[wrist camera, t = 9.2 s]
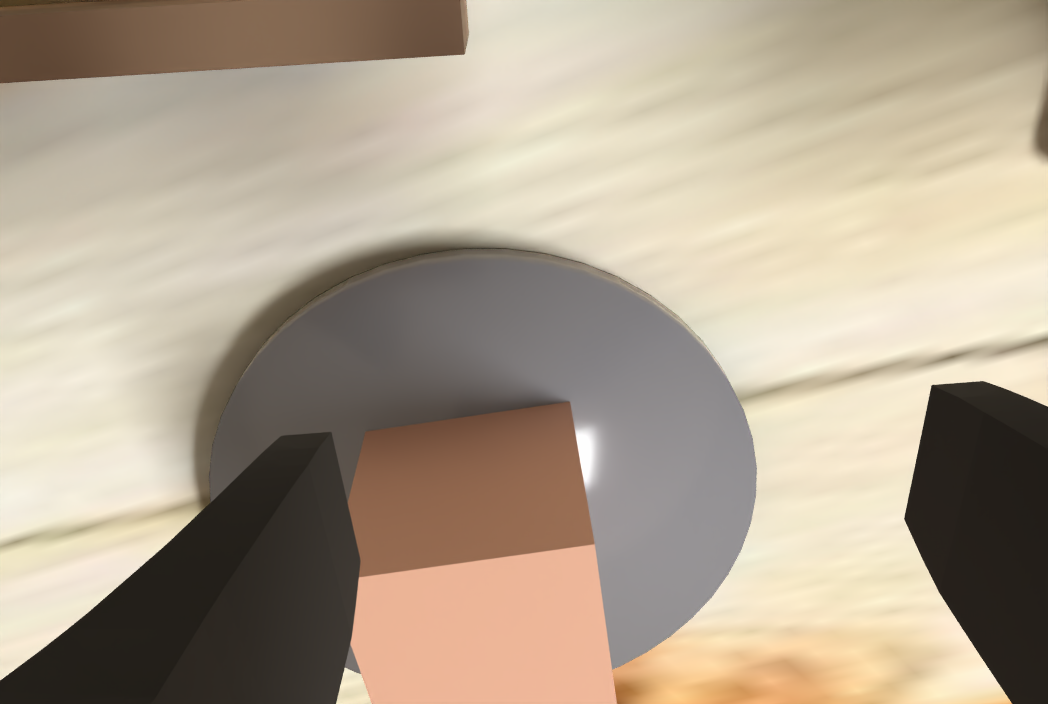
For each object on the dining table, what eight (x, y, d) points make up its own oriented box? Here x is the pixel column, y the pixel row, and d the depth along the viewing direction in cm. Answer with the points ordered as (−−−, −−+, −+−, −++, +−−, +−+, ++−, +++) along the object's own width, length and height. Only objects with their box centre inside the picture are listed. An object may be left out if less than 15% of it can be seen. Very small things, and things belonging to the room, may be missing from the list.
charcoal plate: (772, 228, 18) (783, 241, 17) (728, 658, 24) (735, 679, 24) (153, 268, 18) (138, 282, 17) (278, 689, 24) (272, 712, 24)
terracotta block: (570, 401, 19) (594, 544, 14) (592, 556, 21) (619, 720, 17) (365, 431, 19) (328, 581, 15) (410, 582, 21) (389, 751, 17)
